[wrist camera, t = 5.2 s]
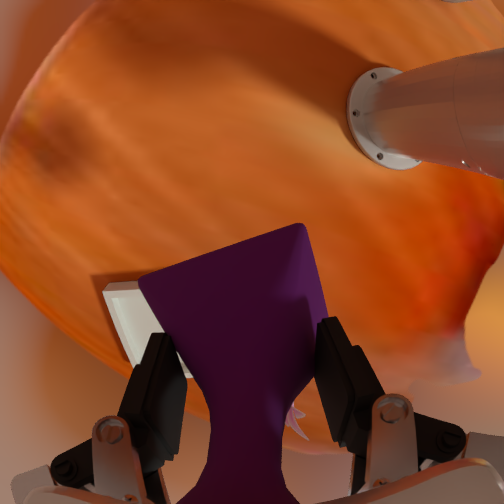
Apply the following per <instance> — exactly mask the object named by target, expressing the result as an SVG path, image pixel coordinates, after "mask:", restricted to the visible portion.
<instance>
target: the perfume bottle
mask: <svg viewBox="0 0 504 504" xmlns="http://www.w3.org/2000/svg"><path fill="white" fill-rule="evenodd" d="M138 287H139V289H140V291H141V292H142V294H143V296H144V298H145V300H146V301H147V303H148V305H149V307H150V308H151V310H152V312H153V314H154V315H155V317H156V319H157V320H158V322H159V324H160V325H161V327H162V329H163V330H164V332H166V333H167V335H168V336H171V339H172V342H173V344H174V347H175V349H176V351H177V353H178V354H179V356H180V357H181V359H182V361H183V362H184V364H185V366H186V367H187V369H188V370H189V372H190V373H191V375H192V376H193V378H194V380H195V381H196V383H197V384H198V386H199V387H200V389H201V390H202V392H203V395H204V397H205V400H206V403H207V405H208V408H209V411H210V423H211V434H210V442H209V449H208V457H207V463H206V465H205V467H204V469H203V472H202V474H201V476H200V478H199V480H198V482H197V484H196V486H195V487H194V488H192V489H191V490H190V491H189V492H188V493H187V494H186V495H185V496H184V497H183V498H182V499H181V500H179V501H178V502H177V503H176V504H300V503H299V502H298V501H297V500H296V499H295V497H294V496H293V495H292V494H291V493H290V491H288V489H287V488H286V485H285V481H284V477H283V474H282V470H281V459H282V458H281V457H282V436H283V431H284V426H285V421H286V416H287V413H288V412H289V410H290V408H291V406H292V404H293V402H294V400H295V398H296V397H297V396H298V395H299V394H300V392H301V391H302V390H303V389H304V388H305V387H306V385H307V384H308V383H309V382H310V381H311V379H312V378H313V377H314V376H315V343H316V329H317V323H319V322H321V320H322V318H328V312H327V308H326V304H325V299H324V295H323V291H322V287H321V283H320V279H319V275H318V271H317V267H316V263H315V259H314V255H313V251H312V248H311V244H310V240H309V236H308V233H307V229H306V227H305V225H304V224H303V223H295V224H292V225H289V226H286V227H283V228H280V229H277V230H274V231H271V232H268V233H265V234H262V235H259V236H256V237H253V238H250V239H247V240H244V241H241V242H238V243H236V244H233V245H230V246H227V247H224V248H221V249H218V250H215V251H212V252H209V253H206V254H203V255H201V256H198V257H195V258H192V259H189V260H186V261H183V262H180V263H178V264H175V265H172V266H169V267H166V268H163V269H161V270H158V271H155V272H152V273H149V274H146V275H144V276H141V277H140V278H139V279H138Z"/></svg>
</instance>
